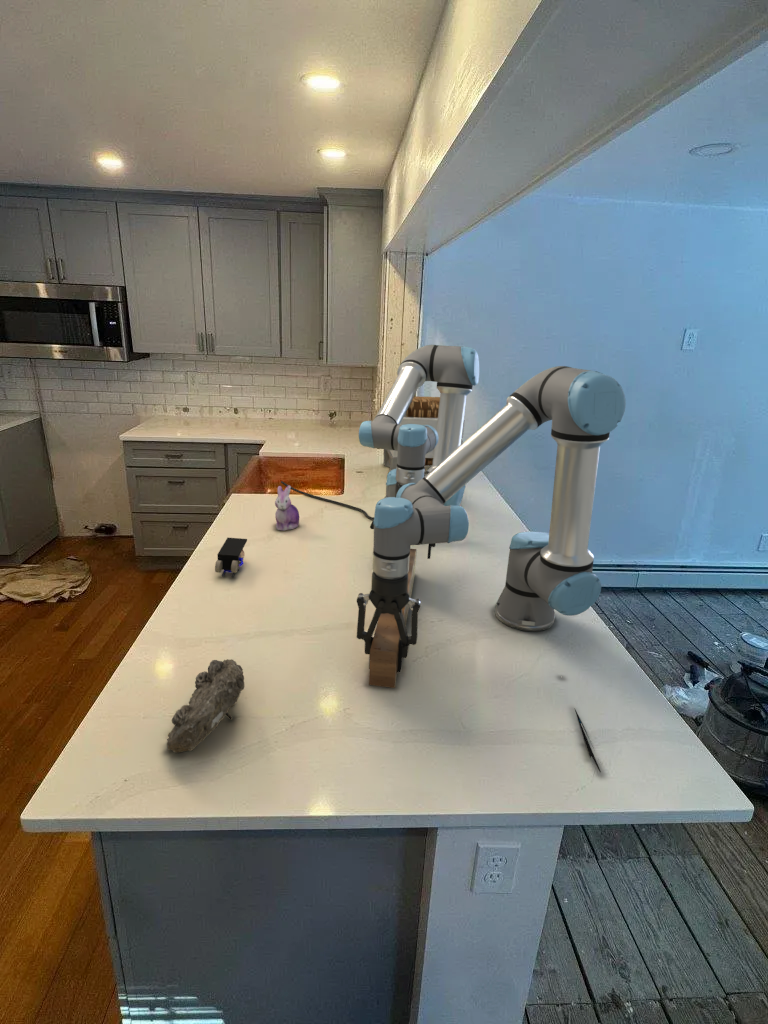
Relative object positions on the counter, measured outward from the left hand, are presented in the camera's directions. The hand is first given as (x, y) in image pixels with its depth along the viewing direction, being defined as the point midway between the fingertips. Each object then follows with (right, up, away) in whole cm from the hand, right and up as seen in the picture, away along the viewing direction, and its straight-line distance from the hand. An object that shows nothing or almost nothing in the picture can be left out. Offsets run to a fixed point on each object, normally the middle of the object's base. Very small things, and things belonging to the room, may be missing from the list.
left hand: (404, 554), depth 160 cm
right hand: (-6, -22, -36) cm, 42 cm away
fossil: (-39, -27, -52) cm, 70 cm away
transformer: (+11, +31, +115) cm, 120 cm away
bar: (-3, -16, -16) cm, 22 cm away
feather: (+32, -29, -49) cm, 65 cm away
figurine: (-40, +7, +42) cm, 58 cm away
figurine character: (-51, -5, +7) cm, 52 cm away
